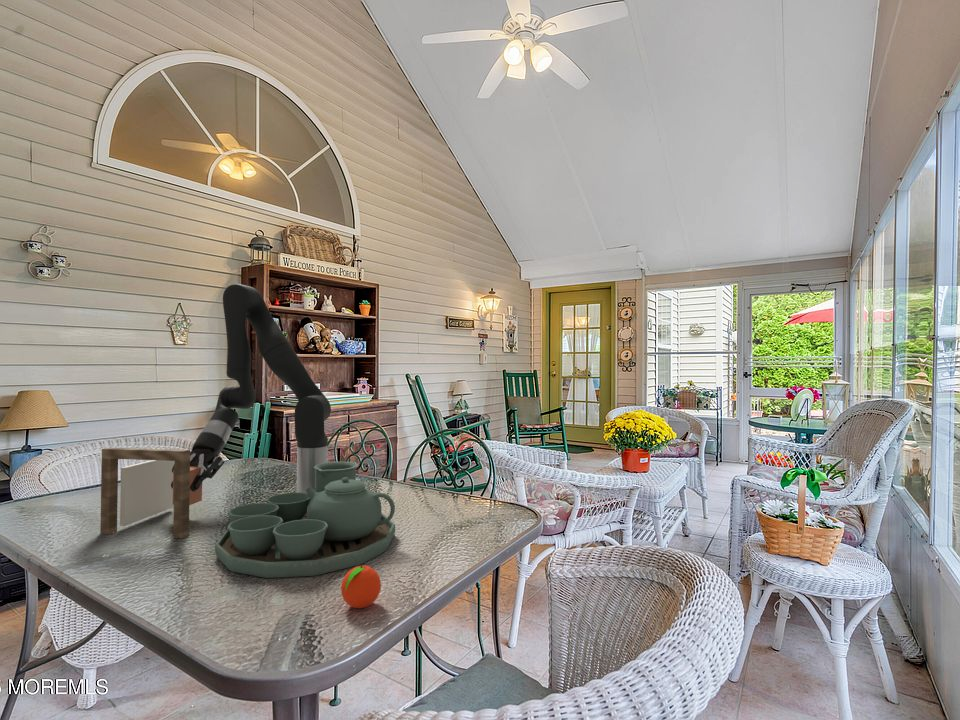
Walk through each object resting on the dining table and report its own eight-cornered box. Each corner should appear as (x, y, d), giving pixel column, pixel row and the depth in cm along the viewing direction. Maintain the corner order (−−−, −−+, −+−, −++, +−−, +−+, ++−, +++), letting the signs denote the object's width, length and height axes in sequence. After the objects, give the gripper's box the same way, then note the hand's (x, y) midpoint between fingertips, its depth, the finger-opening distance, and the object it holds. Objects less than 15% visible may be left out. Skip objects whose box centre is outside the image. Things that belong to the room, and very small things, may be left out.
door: (165, 507, 146) (166, 455, 146) (173, 507, 146) (174, 456, 146) (115, 525, 129) (116, 467, 129) (124, 526, 128) (125, 467, 129)
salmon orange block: (201, 500, 140) (202, 466, 140) (189, 505, 135) (190, 470, 135) (185, 499, 141) (186, 465, 141) (172, 504, 136) (173, 469, 136)
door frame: (188, 535, 125) (190, 449, 125) (182, 538, 123) (183, 451, 123) (108, 530, 128) (109, 447, 128) (100, 534, 125) (101, 448, 126)
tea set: (225, 529, 130) (226, 466, 130) (379, 513, 145) (379, 457, 145) (203, 595, 93) (204, 506, 93) (412, 564, 108) (412, 488, 108)
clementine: (362, 622, 83) (362, 579, 83) (328, 614, 86) (328, 572, 86) (388, 601, 91) (388, 561, 91) (356, 594, 93) (356, 556, 93)
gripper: (184, 430, 146) (151, 480, 134) (230, 432, 145) (200, 483, 133) (196, 445, 152) (165, 495, 140) (240, 447, 150) (213, 497, 138)
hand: (183, 488), depth 136 cm, fingers closed on salmon orange block, 5 cm apart
